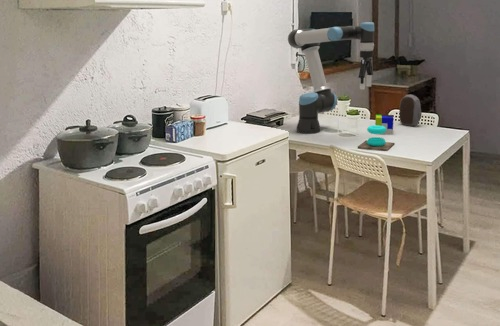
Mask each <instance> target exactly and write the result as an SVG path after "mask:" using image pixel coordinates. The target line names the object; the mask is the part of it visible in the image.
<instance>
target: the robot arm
mask: <svg viewBox="0 0 500 326" xmlns="http://www.w3.org/2000/svg"><path fill="white" fill-rule="evenodd" d="M347 40H348V41H350V40H359V42H360V43H359V50H360V51H359V57H360V59H361V60H360V65H359V66H360V67H359V73H358V79H359V90H366V88H365V87H369V88H370V87H372V76H374V71H373V62H372V61H373V59H372V58H374V53H375V52H374V47H375V44H374V42H375V23H374V22H372V21H371V22H369V21H368V22H361V23H360V25H345V26H333V27H332V26H331V27H328V28H327V27H326V28H320V29H315V28H302V29H301V28H300V29H299V28H298V29H292V31H290V32H289V33H288V36H287V41H288V42H287V43H288V44H289V46H290V47H291V48H295V49H300V50H301V53H302V54H304V56H305V60H306V65H307V68H308V72H309V75H310V79H311V84H312V87H313V92H306V93H302V94H301V95H299V99H298V113H299V114H298V122H297V123H296V124H297V125H296V130H295V131H296V133H299V132H300V133H299V134H319V133H320V132H321V130H322V129H321V124H320V121H319V114H320V113H325V112H327V113H328V112H330V111H334V109H335V108H336V106H337V105H338V97H337V95H336V94H335V93H334V92H332V90H331V88H330V87H329V86H328V84H327V81H326V76H325V72H324V69H323V64H322V61H321V57H320V54H319V53H320V52H319V49H320V47H321V46H320V45H321V43H328V42H337V41H347ZM365 77H366V78H365Z"/></svg>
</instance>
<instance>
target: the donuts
mask: <svg viewBox="0 0 500 326" xmlns="http://www.w3.org/2000/svg"><path fill="white" fill-rule="evenodd" d="M366 130H367V132H368V133H370V134H371V135H383V134H382V133H384V132H385V131H386V128H385V127H384V126H380V125H375V124H374V125H370V126H367V128H366ZM386 142H387V141H386V140H385V139H384V138H382V137H379V136H378V137H377V136H373V137H369V138H367V144H368V145H370V146H383V145H385V143H386Z"/></svg>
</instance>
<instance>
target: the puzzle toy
mask: <svg viewBox="0 0 500 326" xmlns="http://www.w3.org/2000/svg"><path fill="white" fill-rule="evenodd" d="M374 125H380V126H384V127H385V128H386V131H385V132H384V133H382V134H381V135H393V134H394V133H393V132H394V116H393V114H375V123H374Z"/></svg>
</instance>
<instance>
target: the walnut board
mask: <svg viewBox="0 0 500 326" xmlns="http://www.w3.org/2000/svg"><path fill="white" fill-rule="evenodd" d="M367 140H368V139H367ZM367 140H364V141H363V142H362V143H361V144H359V145H358V146H357V149H361V150H371V151H372V150H373V151H381V152H388V151H389V150H390V149H392V147H393V146H395V142H388V141H386V143H385V145H383V146H370V145H368V144H367Z"/></svg>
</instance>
